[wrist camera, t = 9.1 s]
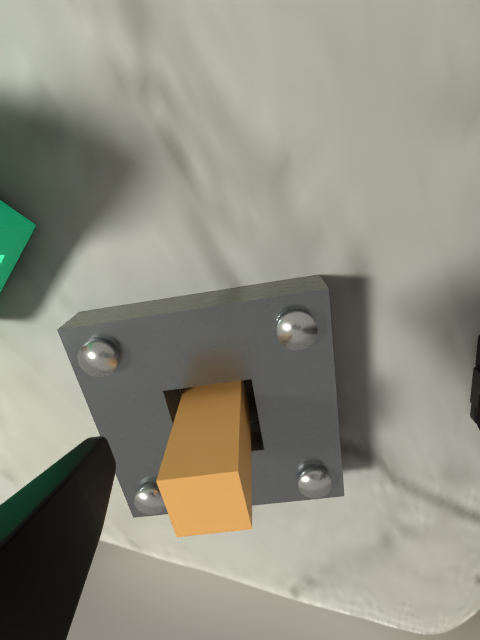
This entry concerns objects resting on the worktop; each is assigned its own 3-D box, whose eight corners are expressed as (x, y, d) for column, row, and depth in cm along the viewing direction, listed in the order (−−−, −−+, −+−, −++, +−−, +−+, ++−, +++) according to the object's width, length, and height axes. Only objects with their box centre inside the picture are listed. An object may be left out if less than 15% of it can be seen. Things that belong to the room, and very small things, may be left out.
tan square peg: (241, 370, 22) (237, 471, 14) (250, 415, 23) (252, 529, 16) (187, 378, 22) (156, 480, 15) (199, 422, 23) (176, 537, 16)
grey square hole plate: (319, 274, 19) (331, 292, 16) (335, 465, 25) (346, 504, 22) (78, 312, 20) (51, 334, 18) (143, 486, 26) (130, 525, 23)
